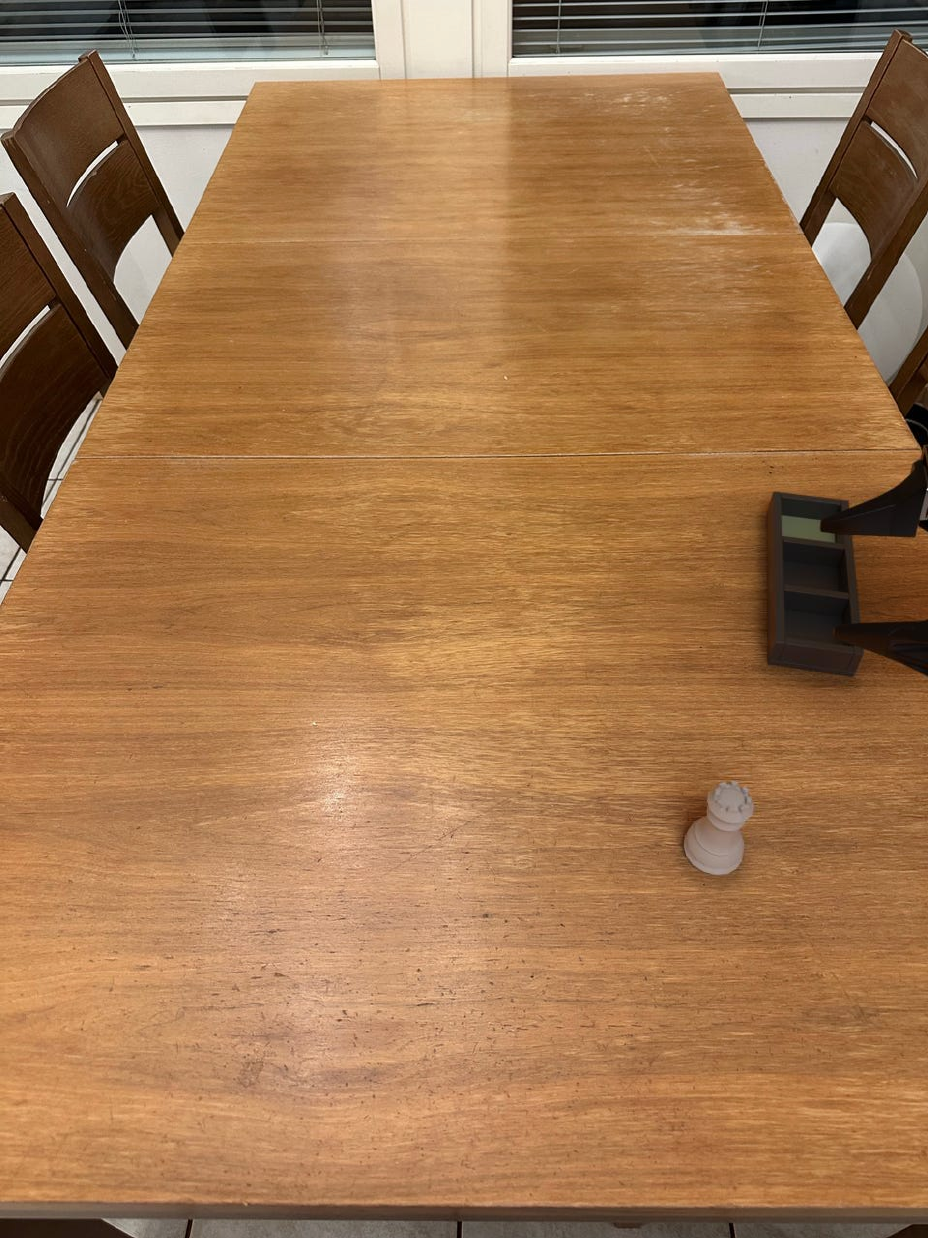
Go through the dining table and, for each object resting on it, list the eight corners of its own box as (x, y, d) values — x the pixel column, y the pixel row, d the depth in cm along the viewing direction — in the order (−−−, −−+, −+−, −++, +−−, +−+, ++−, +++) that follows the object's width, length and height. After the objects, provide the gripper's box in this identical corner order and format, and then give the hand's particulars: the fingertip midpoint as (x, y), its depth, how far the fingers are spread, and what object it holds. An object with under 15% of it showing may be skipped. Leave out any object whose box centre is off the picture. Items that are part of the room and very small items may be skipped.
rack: (840, 523, 97) (848, 500, 95) (853, 677, 84) (863, 654, 81) (766, 513, 98) (773, 490, 96) (767, 664, 85) (775, 641, 82)
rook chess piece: (752, 868, 71) (777, 814, 65) (698, 885, 71) (719, 831, 65) (724, 818, 74) (746, 762, 68) (672, 834, 73) (690, 778, 67)
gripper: (1073, 375, 62) (820, 401, 66) (1156, 616, 52) (852, 629, 56) (1031, 485, 71) (811, 502, 75) (1095, 708, 61) (837, 714, 65)
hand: (826, 577), depth 67 cm, fingers open, 9 cm apart
